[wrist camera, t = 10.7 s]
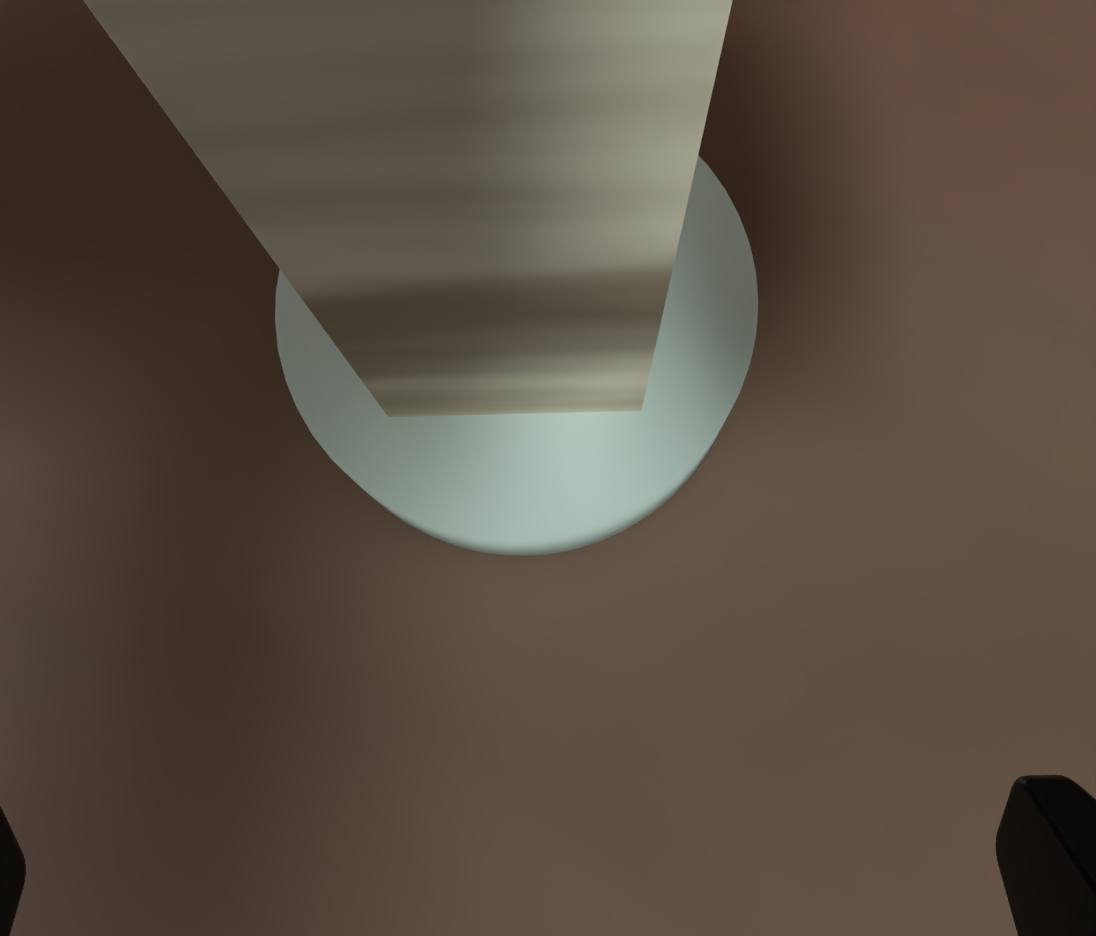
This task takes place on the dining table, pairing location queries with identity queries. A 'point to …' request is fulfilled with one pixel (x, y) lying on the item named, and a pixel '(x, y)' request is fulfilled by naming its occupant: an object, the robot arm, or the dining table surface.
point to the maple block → (452, 176)
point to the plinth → (548, 415)
